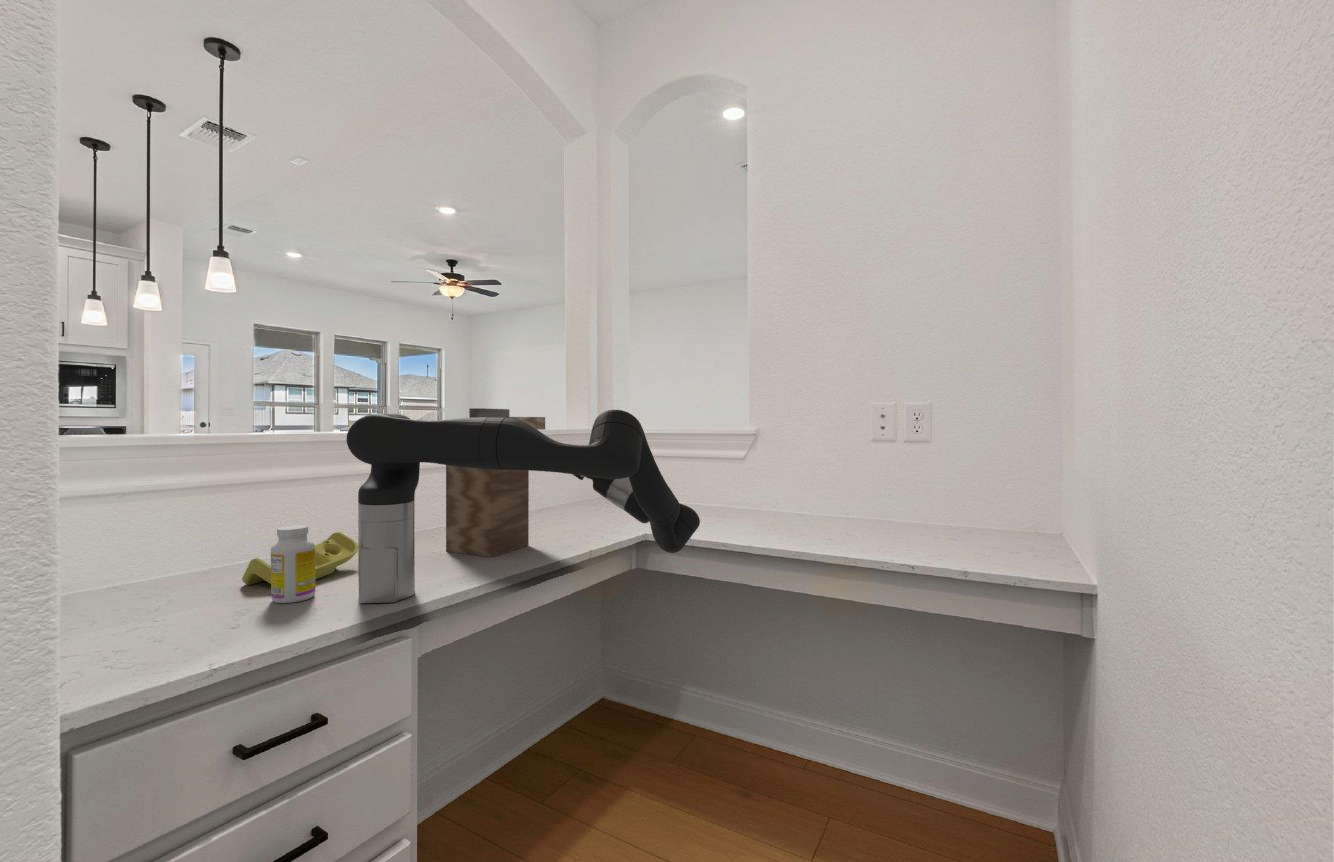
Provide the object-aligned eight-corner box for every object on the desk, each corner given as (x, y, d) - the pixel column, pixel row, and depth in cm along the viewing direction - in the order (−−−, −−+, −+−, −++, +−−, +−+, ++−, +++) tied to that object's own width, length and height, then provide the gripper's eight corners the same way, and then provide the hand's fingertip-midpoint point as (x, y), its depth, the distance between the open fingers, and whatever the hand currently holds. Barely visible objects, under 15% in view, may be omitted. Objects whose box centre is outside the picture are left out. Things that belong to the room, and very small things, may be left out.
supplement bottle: (319, 591, 107) (318, 523, 107) (310, 602, 101) (310, 529, 101) (277, 595, 105) (276, 525, 105) (265, 606, 99) (265, 531, 98)
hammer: (553, 429, 142) (553, 409, 142) (528, 429, 132) (528, 408, 132) (496, 428, 149) (496, 409, 148) (469, 429, 139) (469, 408, 139)
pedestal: (528, 545, 148) (528, 428, 147) (491, 557, 135) (491, 429, 134) (485, 540, 153) (485, 428, 153) (446, 551, 140) (445, 428, 140)
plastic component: (287, 580, 107) (248, 554, 109) (276, 613, 108) (237, 586, 110) (368, 549, 126) (333, 527, 128) (358, 577, 127) (323, 555, 129)
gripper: (595, 504, 123) (540, 464, 129) (625, 497, 136) (575, 461, 142) (610, 475, 122) (554, 436, 127) (640, 470, 135) (588, 434, 140)
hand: (565, 449), depth 134 cm, fingers open, 8 cm apart
